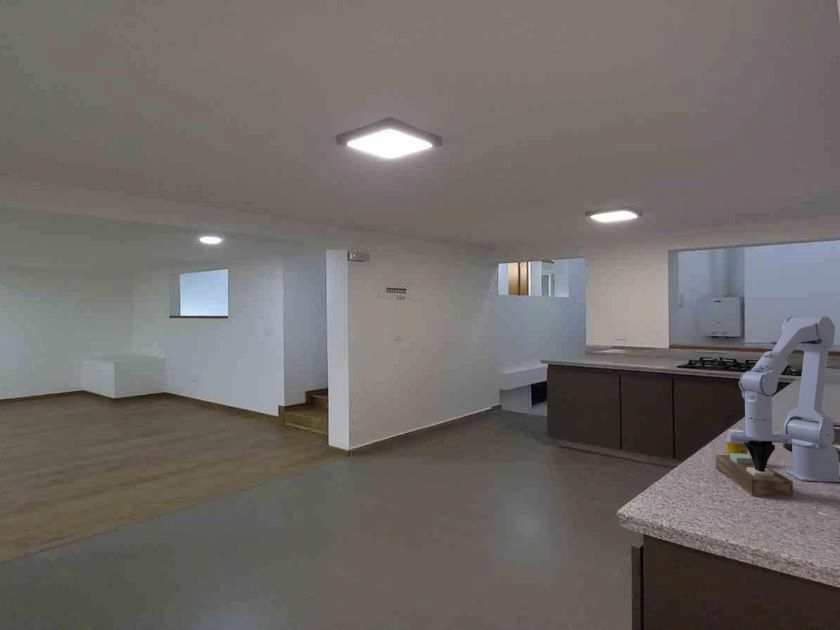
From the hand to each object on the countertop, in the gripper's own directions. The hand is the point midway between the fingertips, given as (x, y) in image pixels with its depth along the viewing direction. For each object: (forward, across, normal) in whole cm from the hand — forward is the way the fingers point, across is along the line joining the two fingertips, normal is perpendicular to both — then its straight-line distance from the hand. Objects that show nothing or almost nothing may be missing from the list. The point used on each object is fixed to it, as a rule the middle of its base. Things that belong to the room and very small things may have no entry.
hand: (759, 470), depth 125 cm
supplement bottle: (+5, -5, -23) cm, 24 cm away
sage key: (+2, -1, -10) cm, 10 cm away
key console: (+5, 0, -5) cm, 7 cm away
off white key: (+3, 0, 0) cm, 3 cm away
